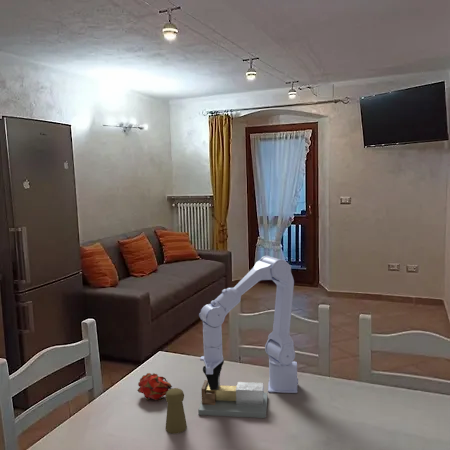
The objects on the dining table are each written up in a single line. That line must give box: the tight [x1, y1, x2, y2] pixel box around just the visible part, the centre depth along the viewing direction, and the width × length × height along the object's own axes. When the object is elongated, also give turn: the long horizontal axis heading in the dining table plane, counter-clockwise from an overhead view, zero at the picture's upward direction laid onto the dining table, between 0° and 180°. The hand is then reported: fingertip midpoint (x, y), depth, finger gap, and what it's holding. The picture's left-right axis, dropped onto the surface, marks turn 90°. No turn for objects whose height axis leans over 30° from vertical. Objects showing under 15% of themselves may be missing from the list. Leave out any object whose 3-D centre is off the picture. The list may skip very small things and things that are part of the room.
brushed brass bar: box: [206, 375, 237, 401], centre depth 132 cm, size 12×3×7 cm, turn 82°
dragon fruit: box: [136, 372, 173, 402], centre depth 139 cm, size 8×8×12 cm
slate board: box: [197, 392, 268, 419], centre depth 133 cm, size 20×12×2 cm, turn 82°
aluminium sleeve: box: [236, 381, 265, 407], centre depth 132 cm, size 8×5×5 cm, turn 82°
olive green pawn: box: [164, 387, 188, 435], centre depth 121 cm, size 6×6×11 cm
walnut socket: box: [201, 379, 216, 405], centre depth 133 cm, size 4×6×5 cm
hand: (214, 386), depth 133 cm, fingers closed on brushed brass bar, 2 cm apart
